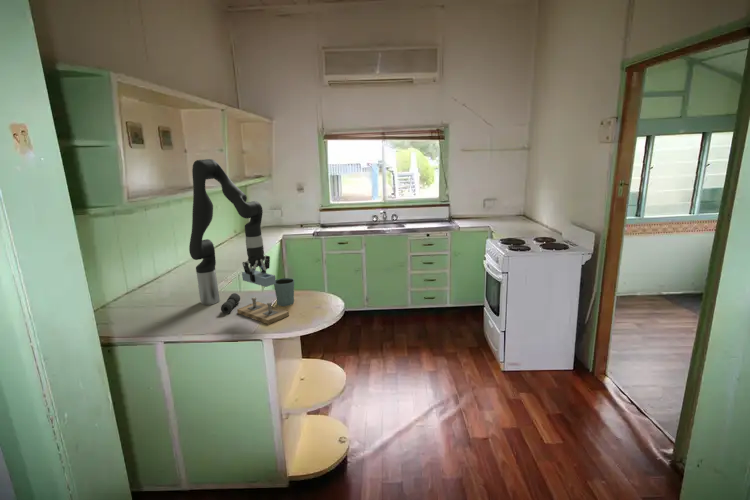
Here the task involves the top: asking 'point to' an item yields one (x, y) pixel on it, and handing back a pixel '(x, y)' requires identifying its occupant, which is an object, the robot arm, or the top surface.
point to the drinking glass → (284, 291)
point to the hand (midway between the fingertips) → (258, 279)
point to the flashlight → (230, 303)
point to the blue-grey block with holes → (260, 278)
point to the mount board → (263, 312)
